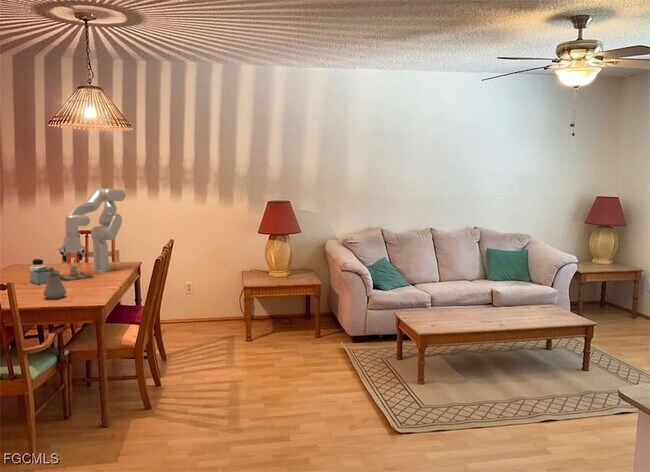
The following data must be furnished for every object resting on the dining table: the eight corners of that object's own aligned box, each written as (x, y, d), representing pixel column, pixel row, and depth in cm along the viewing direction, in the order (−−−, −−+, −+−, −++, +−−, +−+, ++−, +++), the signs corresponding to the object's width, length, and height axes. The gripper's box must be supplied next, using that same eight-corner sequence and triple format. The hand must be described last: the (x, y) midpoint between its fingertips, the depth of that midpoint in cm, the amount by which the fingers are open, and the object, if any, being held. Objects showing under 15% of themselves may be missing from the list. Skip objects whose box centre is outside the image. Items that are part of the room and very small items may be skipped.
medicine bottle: (39, 278, 346) (38, 260, 344) (30, 277, 347) (28, 259, 345) (47, 276, 353) (46, 258, 351) (37, 275, 354) (36, 258, 352)
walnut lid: (81, 273, 360) (81, 263, 359) (91, 277, 349) (91, 266, 348) (57, 277, 349) (56, 266, 348) (66, 280, 338) (65, 269, 337)
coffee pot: (67, 298, 295) (66, 271, 293) (44, 300, 289) (43, 273, 287) (63, 290, 313) (62, 265, 311) (41, 292, 307) (40, 267, 305)
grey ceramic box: (52, 278, 345) (51, 268, 344) (59, 281, 336) (59, 271, 335) (30, 281, 336) (29, 270, 335) (37, 284, 327) (36, 273, 326)
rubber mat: (83, 273, 362) (83, 273, 362) (95, 277, 349) (95, 277, 349) (53, 277, 349) (53, 277, 348) (64, 282, 335) (64, 281, 335)
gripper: (83, 233, 354) (83, 259, 355) (55, 235, 341) (56, 261, 343) (87, 234, 349) (88, 260, 350) (60, 236, 336) (60, 262, 338)
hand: (72, 260), depth 347 cm, fingers open, 9 cm apart
